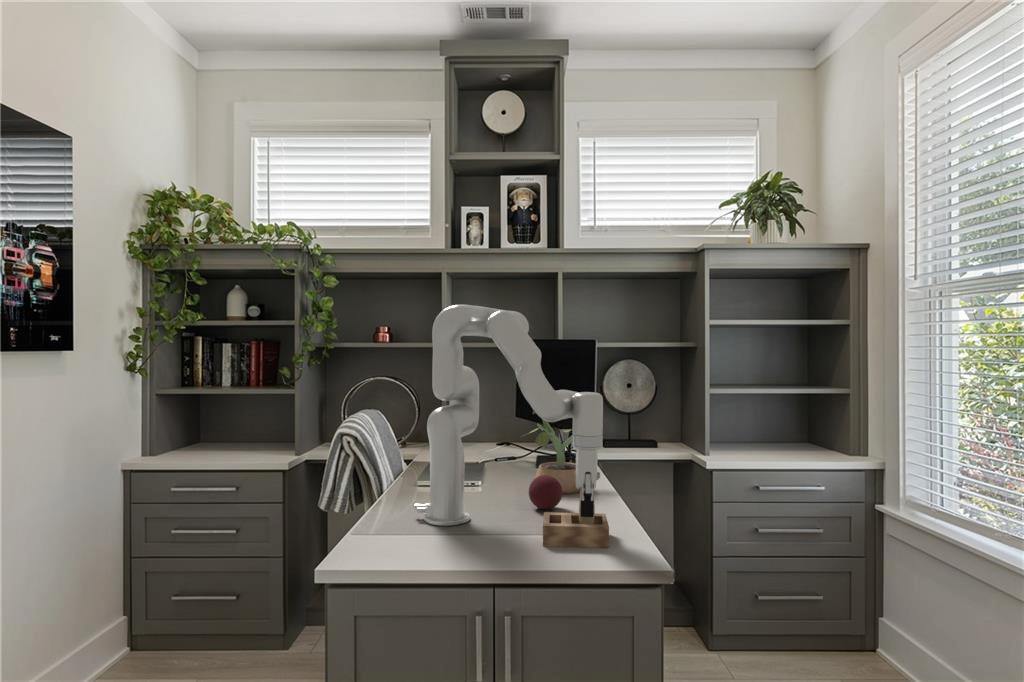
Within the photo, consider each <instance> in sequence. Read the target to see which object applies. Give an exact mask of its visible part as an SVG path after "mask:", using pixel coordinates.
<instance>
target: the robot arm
mask: <svg viewBox="0 0 1024 682" xmlns="http://www.w3.org/2000/svg"><path fill="white" fill-rule="evenodd" d="M434 319H435V320H434V322H433V325H432V331H431V333H432V334H431V339H432V364H431V366H432V371H431V372H432V374H431V375H432V380H431V381H432V382H431V384H432V387H431V388H432V392H433V394H434V397H435V398H437V399H438V400H441V401H442V402H443V401H445V402H447V401H449V404H448V405H443V406H440V407H439V406H438V408H436V409H434V410H433V411H431V413H430V414H429V415H428V418H427V421H426V422H427V423H426V431H427V437H428V442H429V502H428V503H425V504H422V503H415V504H414V511H415V512H417V513H425V514H424V516H423V518H424V522H425V523H427V524H429V525H432V526H440V527H443V526H444V527H446V526H456V525H457V526H458V525H462V524H466V523H467V522H469V521H470V517H471V514H470V513H469V512H466V511H465V450H464V449H465V448H464V446H463V442H462V438H463V437H466V436H468V435H470V434H472V433H474V431H475V430H476V429H477V427H478V425H479V421H480V420H479V419H480V381H479V378H478V375H477V374H476V372H475V370H474V369H473V368H471V367H469V366H466V365H464V347H463V343H462V340H461V337H464V336H466V337H467V336H469V337H472V336H473V337H484V338H489V339H492V341H493V343H494V344H495V346H497V348H498V349H499V351H500V352H501V353H502V355H503V356H504V358H505V359H506V360H507V362H508V364H510V366H511V367H512V369H513V370H514V373H515V378H516V381H517V383H518V386H519V387H518V388H519V389H520V391H521V393H522V395H523V397H524V398H525V400H526V402H527V403H528V404H529V405H530V407H531V408H532V411H533V410H534V411H535V412H536V413H535V414H537V416H538V417H539V418H540V419H541V420H542V419H543V420H545V421H548V423H556V422H558V421H561V420H567V419H572V429H573V430H572V435H573V441H572V442H571V443H572V446H571V447H572V448H573V449H576V451H575V464H576V480H575V482H576V488H577V489H579V487H580V488H581V487H582V500H581V517H593V516H594V504H595V500H594V501H593V489H594V490H596V489H597V481H598V480H597V472H598V456H599V455H598V453H599V452H598V450H601V449H603V439H604V437H603V433H604V431H603V427H604V425H603V424H604V423H603V422H604V401H603V400H604V397H603V395H602V394H601V393H599V392H593V391H581V392H578V391H573V390H570V389H569V390H568V389H559V390H555V389H554V388H553V386H552V385H551V384H550V382H549V381H548V378H546V376H545V374H544V372H543V370H542V365H541V363H542V352H541V349H540V348H539V347H538V346H537V345H536V343H535V342H534V340H533V339H532V337H531V336H530V335H529V334H528V333H529V331H530V324H529V321H528V319H527V318H526V317H525V315H523V314H522V313H521V312H518V311H515V310H505V309H498V308H492V307H486V306H480V305H473V304H471V305H470V304H455V305H454V304H453V305H450V306H448V307H446V308H444V309H443V310H442V311H440V312H439V314H438V315H437V316H436V317H435V318H434ZM590 472H591V473H590ZM583 485H584V486H585V488H583ZM584 491H585V492H584Z"/></svg>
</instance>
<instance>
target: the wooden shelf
mask: <svg viewBox="0 0 1024 682" xmlns="http://www.w3.org/2000/svg"><path fill="white" fill-rule="evenodd" d="M594 515H595V517H594V524H580V522H579V512H554V511H552V512H549V511H544V512H543V520H542V546H543V547H564V548H591V549H592V548H595V549H596V548H597V549H598V548H599V549H600V548H601V549H604V548H605V549H610V526H609V522H608V519H607V515H606V513H595V514H594Z"/></svg>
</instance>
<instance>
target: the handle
mask: <svg viewBox="0 0 1024 682" xmlns="http://www.w3.org/2000/svg"><path fill="white" fill-rule="evenodd" d="M590 473H591V472H590ZM575 477H576V471H575ZM600 479H601V473H600V472H599V471H597V480H596V481H598V480H600ZM583 488H585V486H584V485H583ZM584 492H585V491H584ZM581 500H582V487H581V488H580V491H579V504H578V513H579V522H580V524H594V517H595V515H594V516H593V517H581ZM593 501H594V502H595V489H593ZM595 508H596V507H595V503H594V514H596V512H595V511H596V510H595Z"/></svg>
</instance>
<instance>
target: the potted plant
mask: <svg viewBox="0 0 1024 682" xmlns="http://www.w3.org/2000/svg"><path fill="white" fill-rule="evenodd" d="M535 414H537V413H536V412H535V411H534V410H533V409H532V415H535ZM541 420H542V421H541V422H542V425H543V426H542V425H541V424H540V423H537V424H536V426H537V427H538V428H537V427H536V428H535V429H533V430H531V431H530V432H528V433H524V434H522V435H520V436H519V437H517V438H523V437H525V436H527V435H529V434H531V433H534V432H536V431H537V430H539V429H540V430H541V432H540V433H539V434H538V435H537V436H536V437H535V441H534V442H535V443H536V445H537V446H539V447H540V448H541V447H542V448H546V449H547V448H548V444H549V442H550V441H551V442H552V444H553V447H554V450H555V453H556V461H550V462H545V463H541V464H539V465H538V468H537V471H536V473H535V477H534V479H535V478H536V477H538V476H541V475H549V476H552V477H554V478H556V479H557V480H558V481H559V483H560V485H561V487H562V495H563V494H564V495H569V494H575V493H580V487H579V489H577V488H576V482H575V480H576V477H575V471H576V462H575V463H574V462H566V456H565V451H564V450H565V448H567V446H569V445H570V444H571V443H572V441H573V434H572V435H571V436H570V437H569V438H567V439H566V440H564V442H563V443H561V441H560V439H559V438H558V436H557V435H556V432H555V430H554V429H553V428H552V427H551V425H550V424H549V422H548V421H545V420H543V419H542V418H541ZM561 430H562V433H563V432H564V433H568V432H571V431H573V428H571V429H564V428H562V429H561Z"/></svg>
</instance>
